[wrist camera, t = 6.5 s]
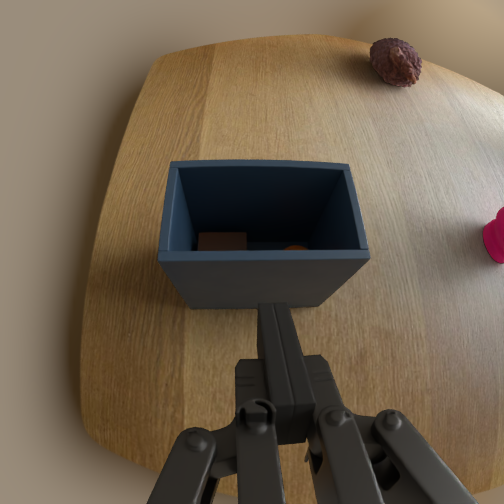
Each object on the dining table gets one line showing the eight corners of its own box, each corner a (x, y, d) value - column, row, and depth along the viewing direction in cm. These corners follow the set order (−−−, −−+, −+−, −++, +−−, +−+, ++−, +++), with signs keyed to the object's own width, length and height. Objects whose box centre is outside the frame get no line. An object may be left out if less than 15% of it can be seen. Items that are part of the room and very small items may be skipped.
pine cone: (346, 50, 48) (374, 21, 41) (378, 77, 52) (405, 50, 46) (379, 74, 37) (416, 37, 30) (415, 110, 41) (448, 76, 35)
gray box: (318, 306, 27) (371, 258, 16) (189, 309, 26) (156, 261, 15) (311, 239, 30) (349, 163, 19) (192, 239, 29) (170, 160, 18)
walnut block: (246, 291, 27) (247, 277, 23) (202, 291, 26) (196, 278, 23) (245, 250, 28) (246, 231, 25) (203, 251, 28) (198, 232, 24)
